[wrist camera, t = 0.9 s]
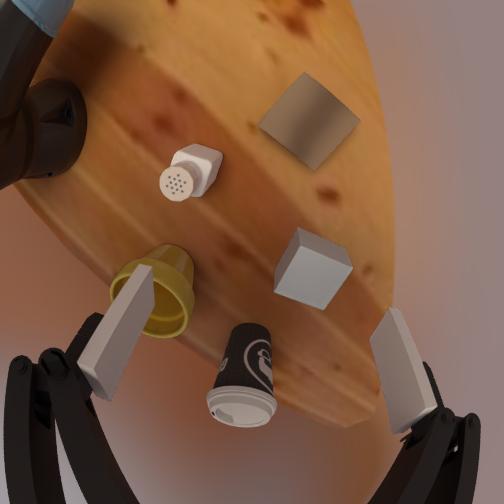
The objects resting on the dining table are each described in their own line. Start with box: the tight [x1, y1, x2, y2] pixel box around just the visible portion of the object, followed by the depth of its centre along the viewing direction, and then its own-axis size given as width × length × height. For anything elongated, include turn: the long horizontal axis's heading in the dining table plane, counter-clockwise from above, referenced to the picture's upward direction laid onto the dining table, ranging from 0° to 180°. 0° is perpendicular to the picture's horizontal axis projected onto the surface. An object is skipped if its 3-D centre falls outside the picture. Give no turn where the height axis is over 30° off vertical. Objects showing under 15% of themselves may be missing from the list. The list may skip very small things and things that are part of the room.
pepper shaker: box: [160, 144, 223, 201], centre depth 26 cm, size 4×4×10 cm
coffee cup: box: [207, 323, 277, 427], centre depth 37 cm, size 10×10×15 cm
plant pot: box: [110, 244, 195, 338], centre depth 33 cm, size 10×10×10 cm
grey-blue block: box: [274, 227, 353, 310], centre depth 33 cm, size 7×7×5 cm
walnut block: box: [257, 71, 361, 171], centre depth 25 cm, size 7×7×5 cm
